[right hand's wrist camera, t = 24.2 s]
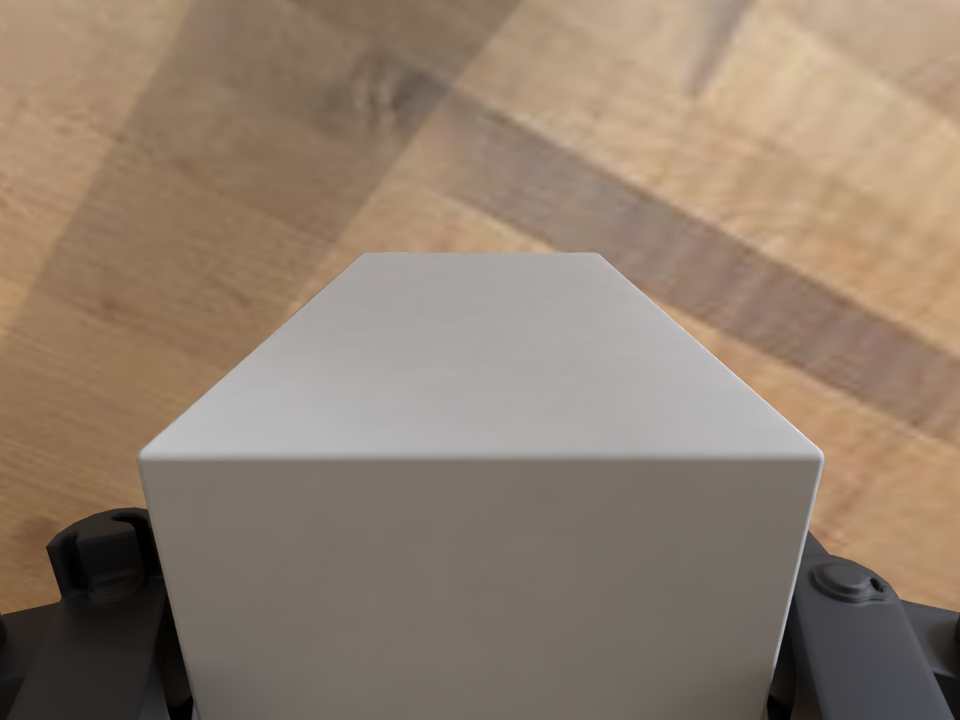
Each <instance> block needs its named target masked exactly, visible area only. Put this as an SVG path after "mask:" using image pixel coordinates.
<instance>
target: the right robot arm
mask: <svg viewBox="0 0 960 720" xmlns="http://www.w3.org/2000/svg"><path fill="white" fill-rule="evenodd" d="M46 549H47V552H48V555H49V558H50V561H51V564H52V567H53V570H54V574H55V577H56V580H57V583H58V586H59V589H60V592H61V596H62V598H61V600H60V602H57V603H54V604H50V605H45V606H41V607H36V608H31V609H27V610H22V611H18V612H13V613H8V614H4V615H1V613H0V720H198V719H197V714H196V710H195V706H194V702H193V697H192V693H191V689H190V685H189V681H188V676H187V672H186V668H185V664H184V660H183V655H182V651H181V647H180V643H179V638H178V634H177V630H176V626H175V622H174V617H173V613H172V609H171V605H170V600H169V596H168V592H167V588H166V584H165V579H164V575H163V571H162V567H161V562H160V558H159V554H158V550H157V546H156V541H155V537H154V533H153V529H152V524H151V520H150V516H149V512H148V510H146V509H141V508H135V507H133V508H120V509H113V510H109V511H105V512H101V513H98V514H94V515H92V516H89V517H87V518H85V519H82V520H80V521H78V522H75V523H73V524H72V525H70V526H69V527H67V528H66V529H64V530H63V531H61V532H60V533H58V534H57V535H56V536H55V537H54V538H53V539H52V541H51V542H50V543H49V544H48V545H47V546H46ZM763 720H960V613H959V612H954V611H950V610H945V609H941V608H936V607H931V606H927V605H922V604H917V603H913V602H908V601H905V600H901V599H899V597H898V595H897V594H896V593H895V591H894V590H893V589H892V587H891V586H890V585H889V583H888V582H886V581H885V580H884V579H882V578H881V577H880V576H879V575H877V574H876V573H875V572H873V571H872V570H870V569H868V568H866V567H864V566H862V565H860V564H858V563H856V562H854V561H851V560H848V559H844V558H841V557H838V556H834V555H829V554H828V552H827V551H826V550H825V549H824V548H823V547H822V545H821V544H820V543H819V542H818V541H817V540H816V538H815V537H814V536H813V535H812V534H811V533H810V531H809V530H808V532H807V536H806V540H805V545H804V549H803V553H802V557H801V561H800V566H799V570H798V574H797V578H796V582H795V587H794V591H793V595H792V599H791V604H790V608H789V612H788V616H787V620H786V625H785V629H784V633H783V637H782V641H781V646H780V650H779V654H778V658H777V663H776V667H775V671H774V675H773V679H772V684H771V688H770V692H769V696H768V700H767V705H766V709H765V713H764V717H763Z"/></svg>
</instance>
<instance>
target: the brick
mask: <svg viewBox="0 0 960 720" xmlns="http://www.w3.org/2000/svg"><path fill="white" fill-rule="evenodd" d="M136 461H137V465H138V470H139V474H140V478H141V482H142V486H143V491H144V495H145V499H146V503H147V508H148V512H149V516H150V520H151V524H152V529H153V533H154V537H155V541H156V546H157V550H158V554H159V558H160V562H161V567H162V571H163V575H164V579H165V584H166V588H167V592H168V596H169V600H170V605H171V609H172V613H173V617H174V622H175V626H176V630H177V634H178V638H179V643H180V647H181V651H182V655H183V660H184V664H185V668H186V672H187V676H188V681H189V685H190V689H191V693H192V697H193V702H194V706H195V710H196V714H197V719H198V720H763V717H764V713H765V709H766V705H767V700H768V696H769V692H770V688H771V684H772V679H773V675H774V671H775V667H776V663H777V658H778V654H779V650H780V646H781V641H782V637H783V633H784V629H785V625H786V620H787V616H788V612H789V608H790V604H791V599H792V595H793V591H794V587H795V582H796V578H797V574H798V570H799V566H800V561H801V557H802V553H803V549H804V545H805V540H806V536H807V532H808V528H809V523H810V519H811V515H812V511H813V507H814V502H815V498H816V494H817V490H818V486H819V481H820V477H821V473H822V469H823V464H824V455H823V452H822V451H821V450H820V449H819V448H818V447H817V446H816V445H815V444H813V443H812V442H811V441H810V440H809V439H808V438H807V437H806V436H804V435H803V434H802V433H801V432H800V431H799V430H798V429H796V428H795V427H794V426H793V425H792V424H791V423H790V422H789V421H787V420H786V419H785V418H784V417H783V416H782V415H781V414H779V413H778V412H777V411H776V410H775V409H774V408H773V407H771V406H770V405H769V404H768V403H767V402H766V401H765V400H764V399H762V398H761V397H760V396H759V395H758V394H757V393H756V392H754V391H753V390H752V389H751V388H750V387H749V386H748V385H747V384H745V383H744V382H743V381H742V380H741V379H740V378H739V377H737V376H736V375H735V374H734V373H733V372H732V371H731V370H730V369H728V368H727V367H726V366H725V365H724V364H723V363H722V362H720V361H719V360H718V359H717V358H716V357H715V356H714V355H712V354H711V353H710V352H709V351H708V350H707V349H706V348H705V347H703V346H702V345H701V344H700V343H699V342H698V341H697V340H695V339H694V338H693V337H692V336H691V335H690V334H689V333H688V332H686V331H685V330H684V329H683V328H682V327H681V326H680V325H678V324H677V323H676V322H675V321H674V320H673V319H672V318H670V317H669V316H668V315H667V314H666V313H665V312H664V311H663V310H661V309H660V308H659V307H658V306H657V305H656V304H655V303H653V302H652V301H651V300H650V299H649V298H648V297H647V296H646V295H644V294H643V293H642V292H641V291H640V290H639V289H638V288H636V287H635V286H634V285H633V284H632V283H631V282H630V281H628V280H627V279H626V278H625V277H624V276H623V275H622V274H621V273H619V272H618V271H617V270H616V269H615V268H614V267H613V266H611V265H610V264H609V263H608V262H607V261H606V260H605V259H604V258H602V257H601V256H600V255H599V254H597V253H363V254H361V255H360V256H359V257H358V258H357V259H356V260H354V261H353V262H352V263H351V264H350V265H349V266H348V267H347V268H345V269H344V270H343V271H342V272H341V273H340V274H339V275H337V276H336V277H335V278H334V279H333V280H332V281H331V282H330V283H328V284H327V285H326V286H325V287H324V288H323V289H322V290H321V291H319V292H318V293H317V294H316V295H315V296H314V297H313V298H311V299H310V300H309V301H308V302H307V303H306V304H305V305H304V306H302V307H301V308H300V309H299V310H298V311H297V312H296V313H294V314H293V315H292V316H291V317H290V318H289V319H288V320H287V321H285V322H284V323H283V324H282V325H281V326H280V327H279V328H278V329H276V330H275V331H274V332H273V333H272V334H271V335H270V336H268V337H267V338H266V339H265V340H264V341H263V342H262V343H261V344H259V345H258V346H257V347H256V348H255V349H254V350H253V351H251V352H250V353H249V354H248V355H247V356H246V357H245V358H244V359H242V360H241V361H240V362H239V363H238V364H237V365H236V366H235V367H233V368H232V369H231V370H230V371H229V372H228V373H227V374H225V375H224V376H223V377H222V378H221V379H220V380H219V381H218V382H216V383H215V384H214V385H213V386H212V387H211V388H210V389H209V390H207V391H206V392H205V393H204V394H203V395H202V396H201V397H199V398H198V399H197V400H196V401H195V402H194V403H193V404H192V405H190V406H189V407H188V408H187V409H186V410H185V411H184V412H182V413H181V414H180V415H179V416H178V417H177V418H176V419H175V420H173V421H172V422H171V423H170V424H169V425H168V426H167V427H166V428H164V429H163V430H162V431H161V432H160V433H159V434H158V435H156V436H155V437H154V438H153V439H152V440H151V441H150V442H149V443H147V444H146V445H145V446H144V447H143V448H142V449H141V450H139V452H138V454H137V460H136Z"/></svg>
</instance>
